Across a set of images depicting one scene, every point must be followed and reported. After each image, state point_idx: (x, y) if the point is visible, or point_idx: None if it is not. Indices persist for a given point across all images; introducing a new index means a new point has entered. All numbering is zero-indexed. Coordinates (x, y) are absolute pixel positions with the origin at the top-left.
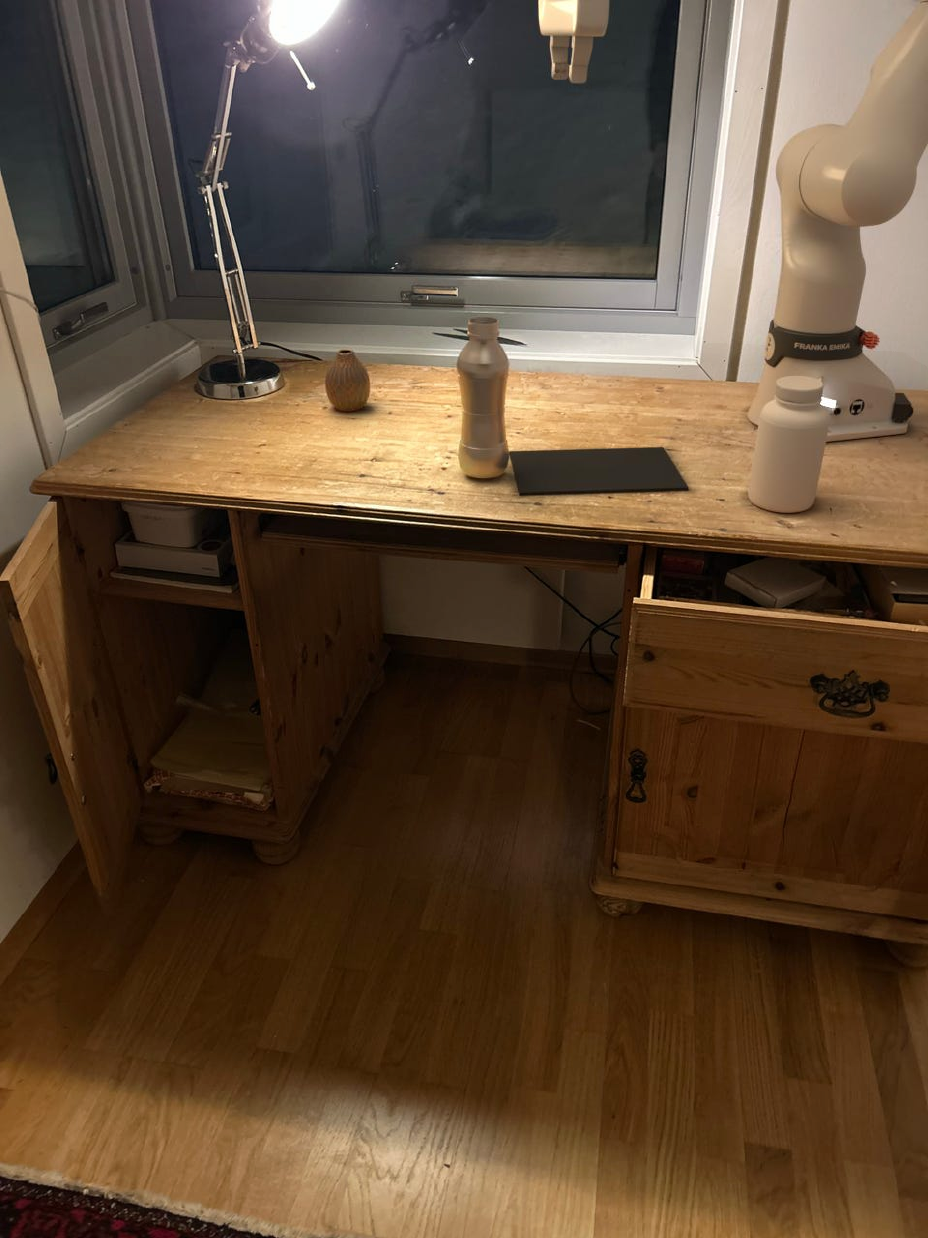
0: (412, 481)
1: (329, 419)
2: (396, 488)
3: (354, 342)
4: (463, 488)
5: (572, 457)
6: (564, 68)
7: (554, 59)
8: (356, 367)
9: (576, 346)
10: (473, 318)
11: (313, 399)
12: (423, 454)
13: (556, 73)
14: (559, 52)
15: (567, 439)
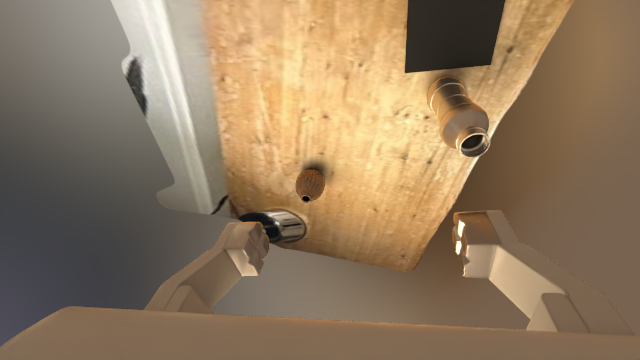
0: None
1: (334, 184)
2: None
3: (184, 180)
4: None
5: (427, 17)
6: (253, 245)
7: (234, 280)
8: (313, 187)
9: (116, 3)
10: (462, 153)
11: None
12: (398, 130)
13: (264, 250)
14: (208, 286)
15: (376, 20)
